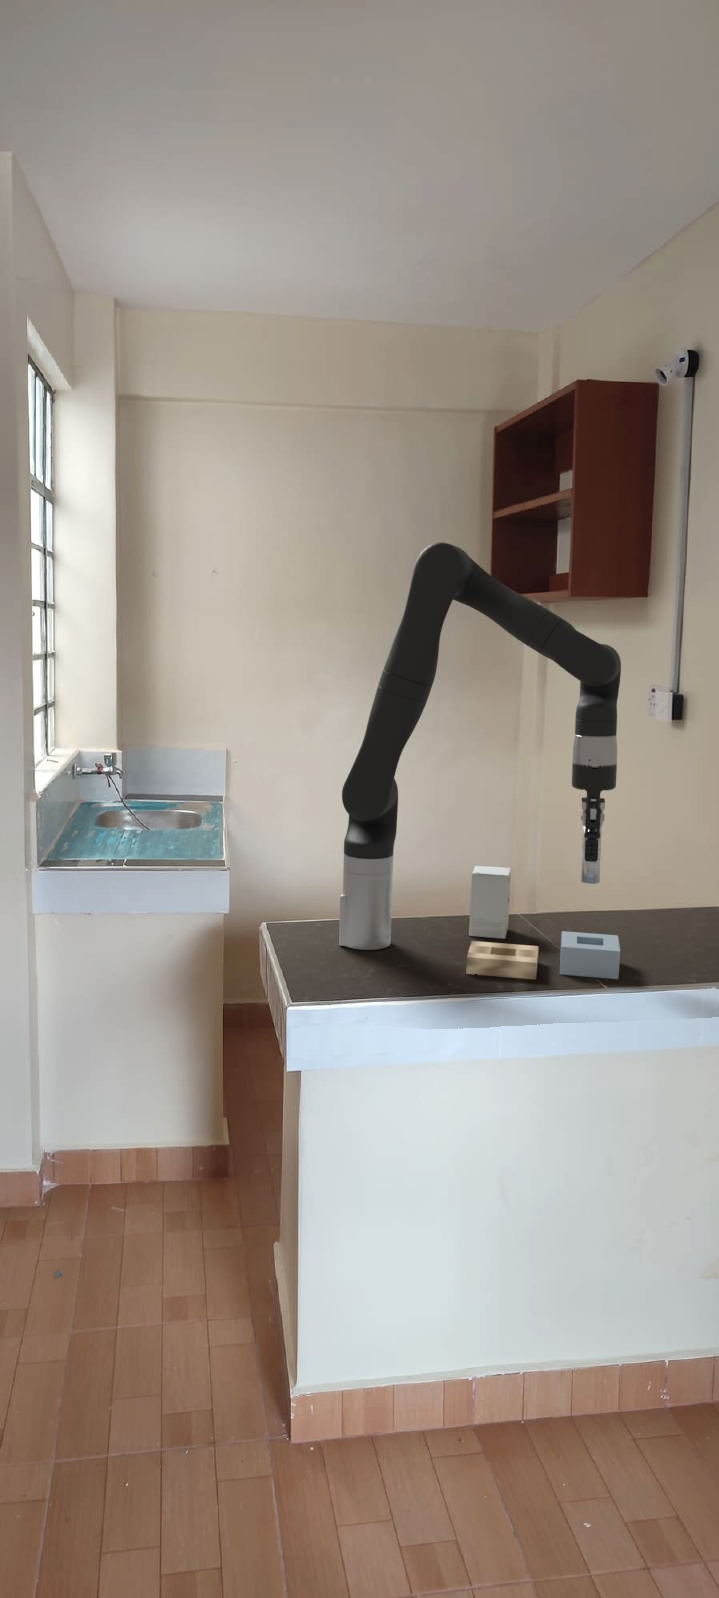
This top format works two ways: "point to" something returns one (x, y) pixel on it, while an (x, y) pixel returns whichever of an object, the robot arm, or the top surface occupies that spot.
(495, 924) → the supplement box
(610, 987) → the top surface
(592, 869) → the pin
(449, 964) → the top surface
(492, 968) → the mount
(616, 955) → the socket
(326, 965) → the top surface
